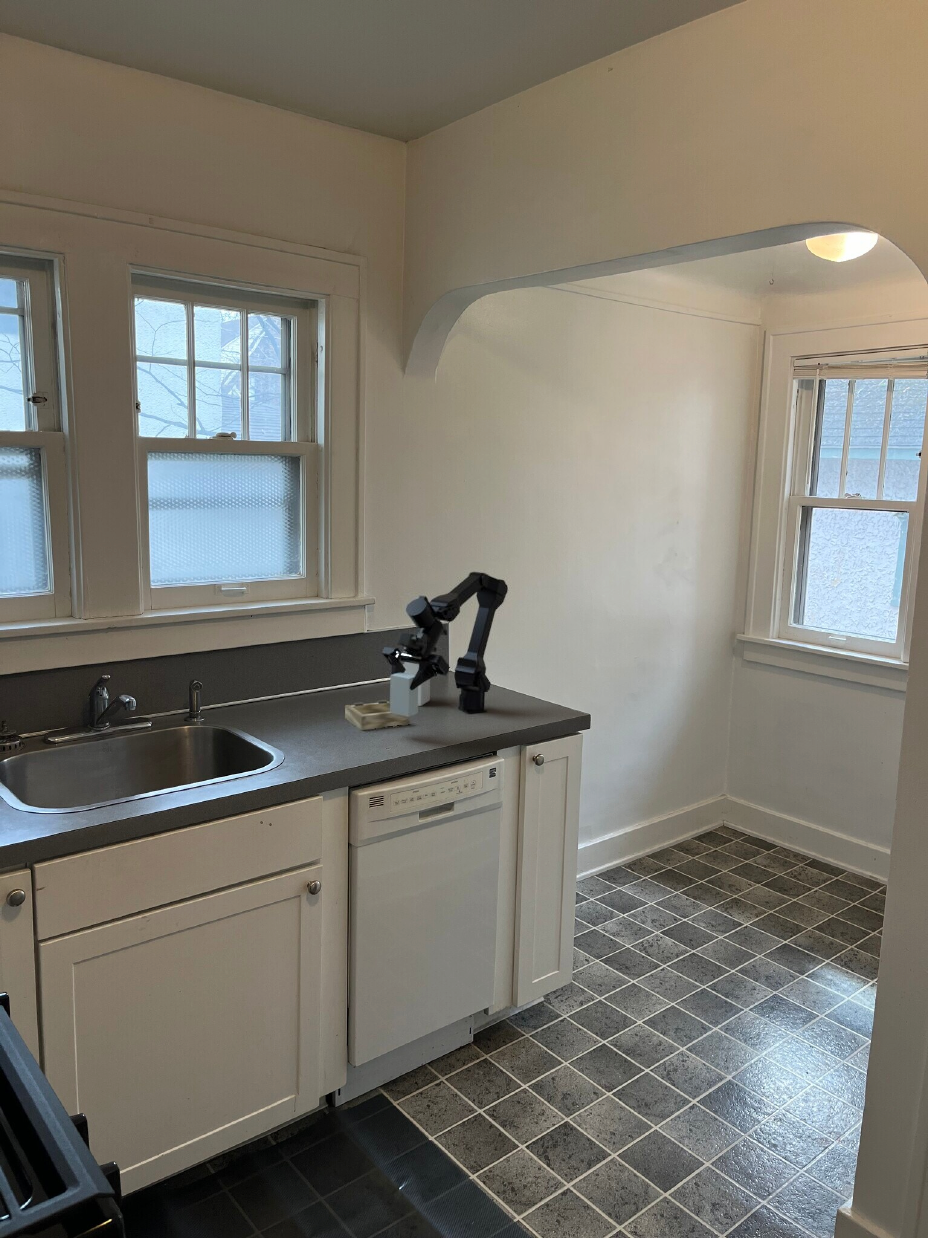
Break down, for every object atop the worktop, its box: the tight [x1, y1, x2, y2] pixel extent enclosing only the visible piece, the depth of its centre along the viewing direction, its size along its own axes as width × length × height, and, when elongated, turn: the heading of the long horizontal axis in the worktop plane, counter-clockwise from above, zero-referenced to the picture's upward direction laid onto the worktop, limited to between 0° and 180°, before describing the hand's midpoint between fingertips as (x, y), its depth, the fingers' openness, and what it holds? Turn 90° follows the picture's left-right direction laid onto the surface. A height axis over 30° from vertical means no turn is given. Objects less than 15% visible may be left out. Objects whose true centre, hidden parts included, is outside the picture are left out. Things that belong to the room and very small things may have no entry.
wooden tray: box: [344, 699, 411, 731], centre depth 254 cm, size 14×12×4 cm
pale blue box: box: [389, 672, 419, 718], centre depth 240 cm, size 4×6×10 cm, turn 56°
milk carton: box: [401, 650, 431, 707], centre depth 274 cm, size 7×7×19 cm
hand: (400, 687), depth 238 cm, fingers closed on pale blue box, 6 cm apart
